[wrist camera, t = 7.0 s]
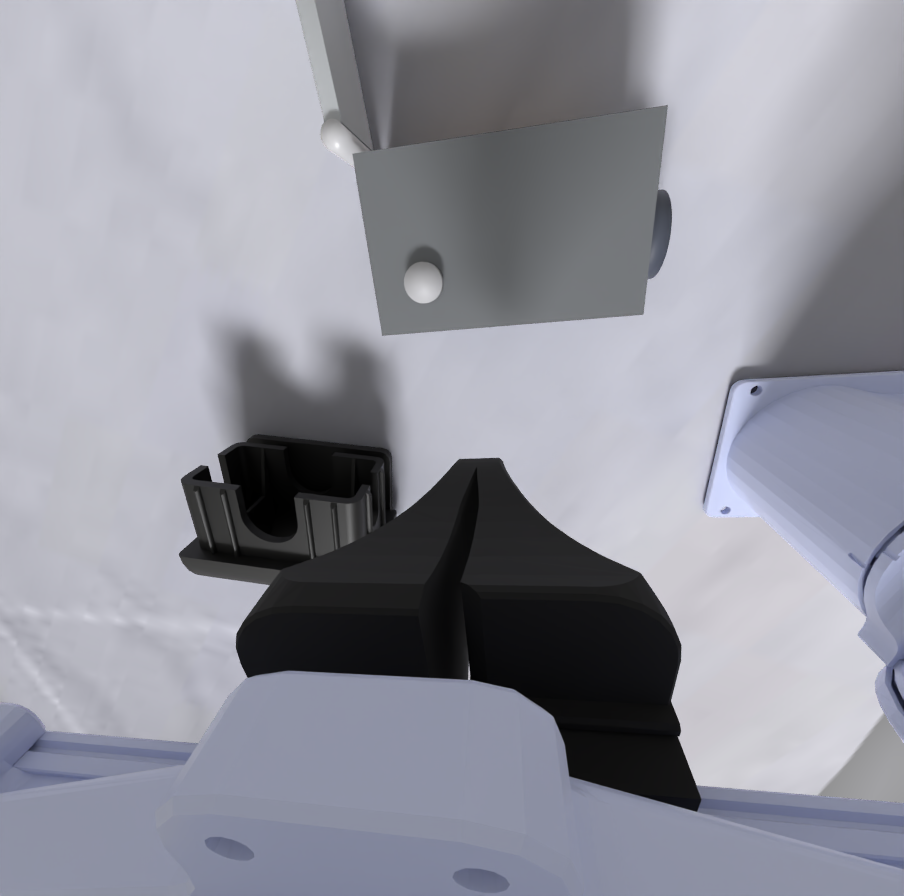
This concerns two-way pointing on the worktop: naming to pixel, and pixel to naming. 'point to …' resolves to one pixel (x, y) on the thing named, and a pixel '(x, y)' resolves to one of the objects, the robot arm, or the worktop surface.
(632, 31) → the worktop surface
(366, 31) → the worktop surface
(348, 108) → the side cover
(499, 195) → the camera case
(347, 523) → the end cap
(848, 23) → the worktop surface
